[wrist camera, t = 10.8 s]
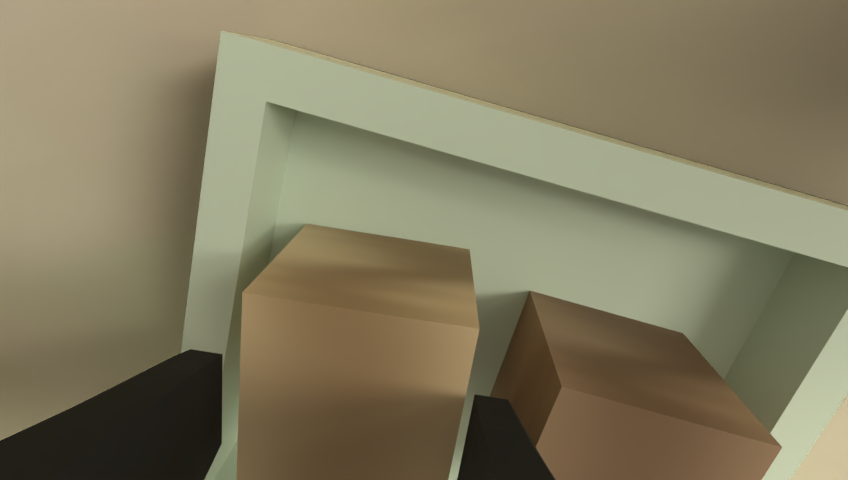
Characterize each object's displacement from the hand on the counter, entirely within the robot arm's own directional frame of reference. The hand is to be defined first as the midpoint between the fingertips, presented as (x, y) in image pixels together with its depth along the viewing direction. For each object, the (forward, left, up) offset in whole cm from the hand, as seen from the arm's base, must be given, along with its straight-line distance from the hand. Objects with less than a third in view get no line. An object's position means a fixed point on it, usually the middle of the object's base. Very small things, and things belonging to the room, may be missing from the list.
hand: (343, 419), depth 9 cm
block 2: (-5, 0, -4) cm, 7 cm away
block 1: (0, 0, -4) cm, 4 cm away
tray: (-3, 0, -4) cm, 5 cm away
